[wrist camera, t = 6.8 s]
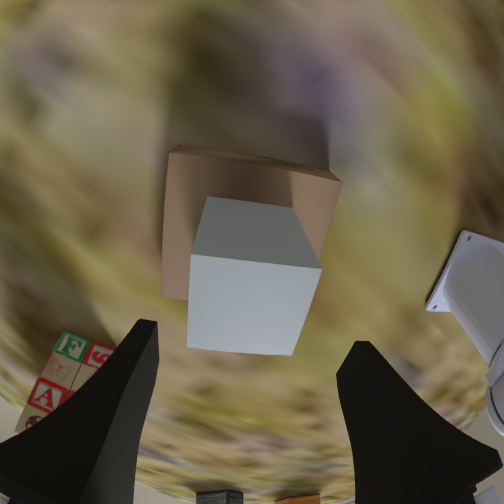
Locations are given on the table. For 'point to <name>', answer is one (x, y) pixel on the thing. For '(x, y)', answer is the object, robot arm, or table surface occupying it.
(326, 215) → the walnut block
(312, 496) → the whiskey bottle
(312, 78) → the table surface
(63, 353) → the stack of blocks
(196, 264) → the slate block
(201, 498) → the small box
